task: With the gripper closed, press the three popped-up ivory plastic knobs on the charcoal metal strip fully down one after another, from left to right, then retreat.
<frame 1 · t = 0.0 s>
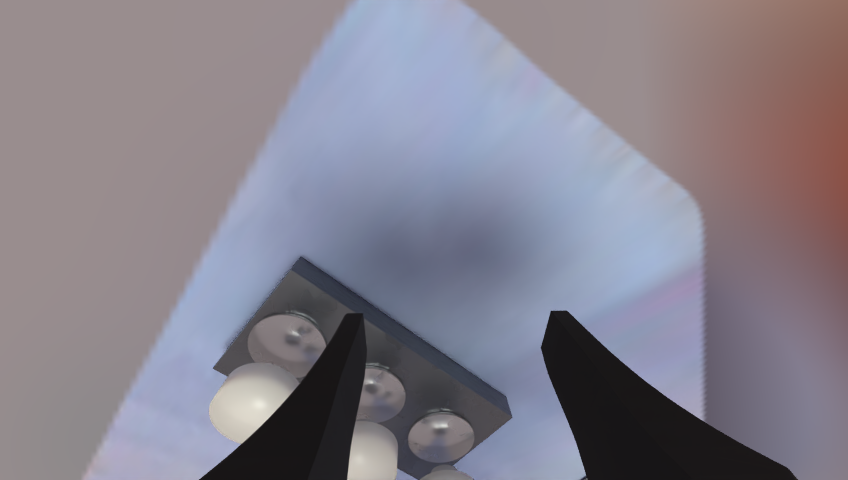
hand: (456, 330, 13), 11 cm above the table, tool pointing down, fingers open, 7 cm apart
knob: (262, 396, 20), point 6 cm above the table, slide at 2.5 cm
knob middle: (362, 449, 21), point 6 cm above the table, slide at 2.5 cm
mount: (373, 374, 27), on the table
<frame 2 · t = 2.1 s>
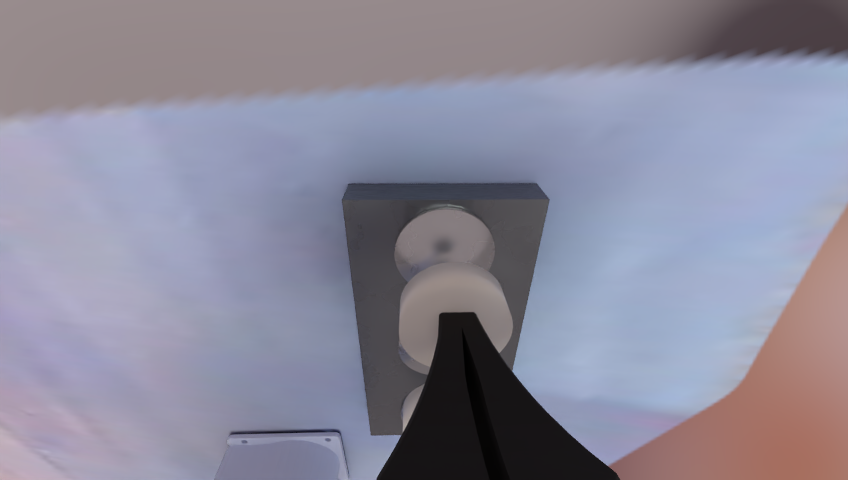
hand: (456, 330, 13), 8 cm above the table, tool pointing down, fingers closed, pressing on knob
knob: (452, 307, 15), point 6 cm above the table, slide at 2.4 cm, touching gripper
knob middle: (445, 410, 18), point 6 cm above the table, slide at 2.5 cm
mount: (437, 321, 24), on the table
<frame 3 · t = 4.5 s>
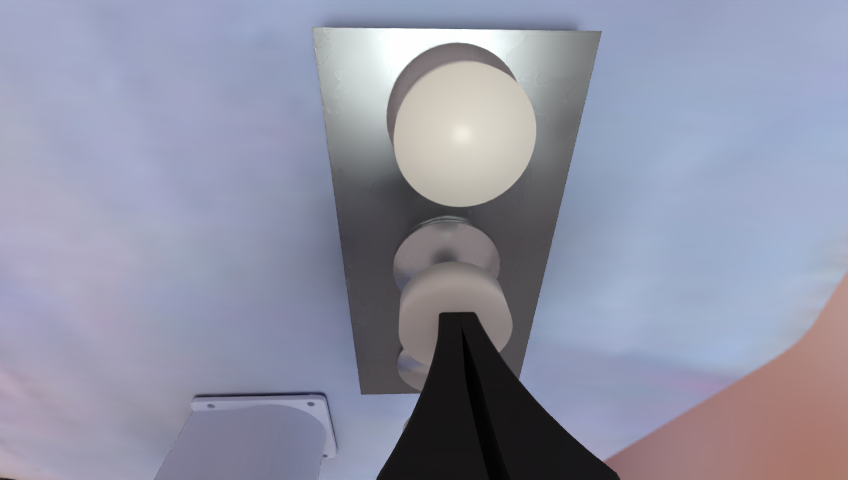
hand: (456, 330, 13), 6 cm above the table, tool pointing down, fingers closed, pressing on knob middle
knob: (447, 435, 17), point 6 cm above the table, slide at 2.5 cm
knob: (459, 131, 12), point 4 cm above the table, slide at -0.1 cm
knob middle: (451, 307, 15), point 5 cm above the table, slide at 1.0 cm, touching gripper
mount: (442, 244, 19), on the table
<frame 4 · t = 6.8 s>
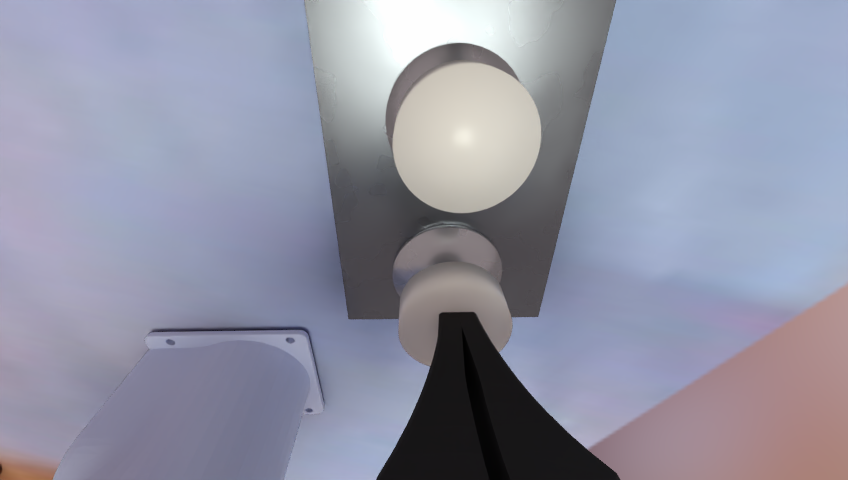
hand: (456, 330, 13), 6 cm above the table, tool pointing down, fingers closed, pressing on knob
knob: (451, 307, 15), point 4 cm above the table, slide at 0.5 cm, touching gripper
knob middle: (461, 134, 11), point 4 cm above the table, slide at -0.1 cm
mount: (450, 111, 15), on the table
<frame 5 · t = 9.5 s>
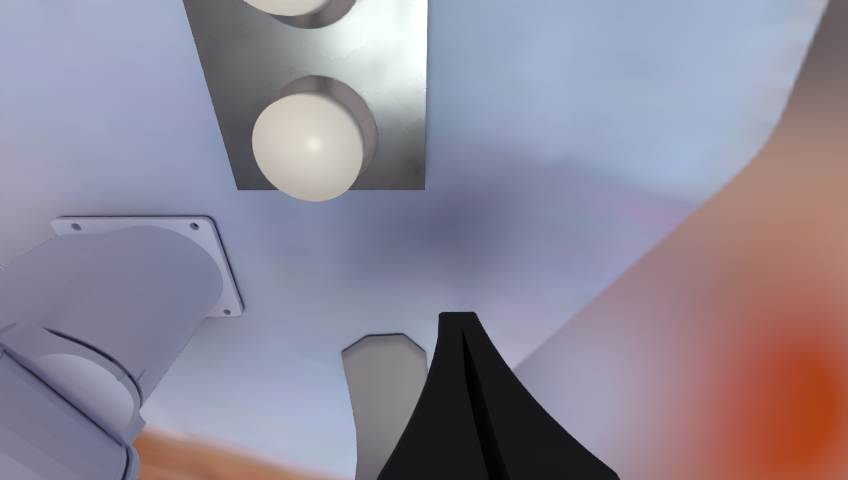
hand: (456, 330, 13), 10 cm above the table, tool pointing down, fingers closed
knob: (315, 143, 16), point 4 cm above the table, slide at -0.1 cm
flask: (386, 360, 29), on the table
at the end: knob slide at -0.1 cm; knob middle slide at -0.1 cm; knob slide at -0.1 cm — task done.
